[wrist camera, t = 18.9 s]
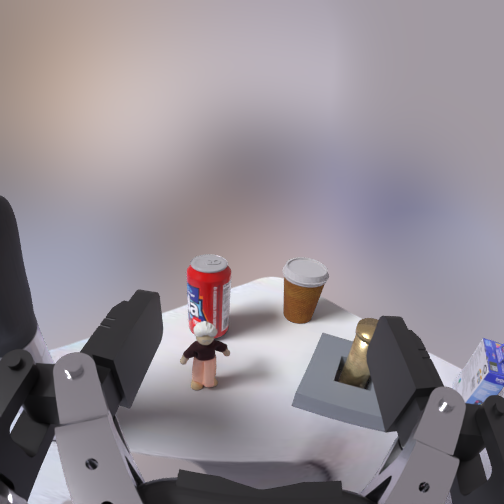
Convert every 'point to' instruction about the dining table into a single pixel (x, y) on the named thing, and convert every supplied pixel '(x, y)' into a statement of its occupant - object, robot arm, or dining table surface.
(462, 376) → the ink cartridge box
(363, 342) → the brass sleeve
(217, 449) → the dining table surface
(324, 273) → the disposable coffee cup
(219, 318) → the soda can
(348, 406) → the jig plate
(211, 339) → the grandmother figurine
